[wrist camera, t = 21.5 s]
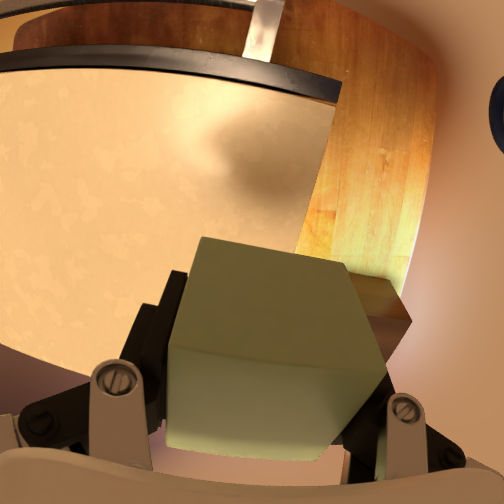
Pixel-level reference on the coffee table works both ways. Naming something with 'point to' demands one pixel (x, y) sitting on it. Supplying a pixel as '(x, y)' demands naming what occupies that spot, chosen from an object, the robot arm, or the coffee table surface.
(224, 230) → the oven
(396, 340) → the stand
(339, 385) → the block
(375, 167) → the coffee table surface
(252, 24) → the oven door
